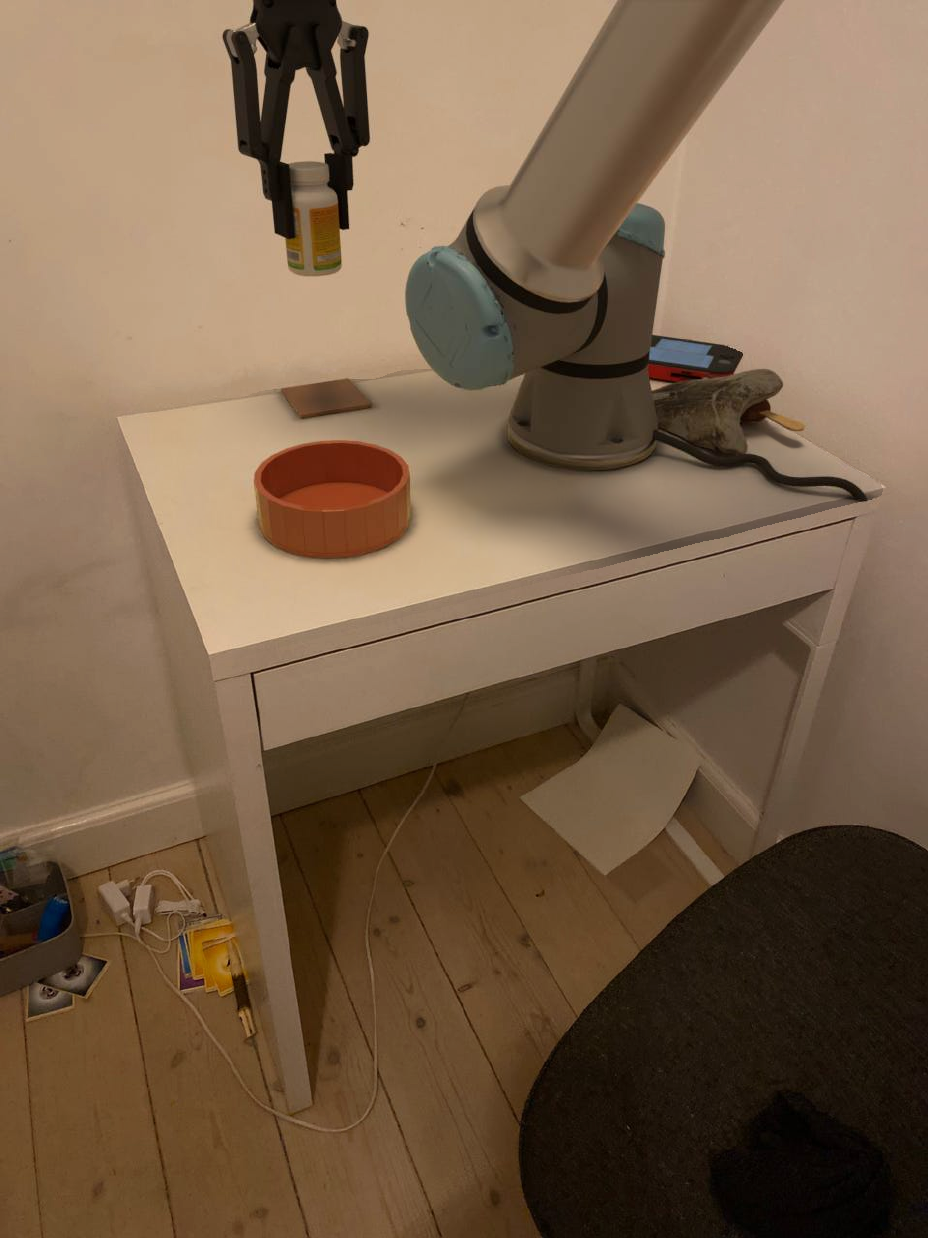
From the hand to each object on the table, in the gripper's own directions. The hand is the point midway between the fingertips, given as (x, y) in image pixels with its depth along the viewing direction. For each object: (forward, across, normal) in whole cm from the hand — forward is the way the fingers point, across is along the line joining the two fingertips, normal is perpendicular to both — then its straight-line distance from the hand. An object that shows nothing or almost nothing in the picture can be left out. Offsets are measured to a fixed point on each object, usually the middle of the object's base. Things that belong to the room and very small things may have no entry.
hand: (312, 230), depth 94 cm
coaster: (+18, -1, -1) cm, 18 cm away
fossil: (+18, -27, +20) cm, 38 cm away
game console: (+19, -41, +14) cm, 47 cm away
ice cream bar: (+17, -33, +38) cm, 52 cm away
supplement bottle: (+4, 0, 0) cm, 4 cm away
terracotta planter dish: (+18, +12, +22) cm, 31 cm away
